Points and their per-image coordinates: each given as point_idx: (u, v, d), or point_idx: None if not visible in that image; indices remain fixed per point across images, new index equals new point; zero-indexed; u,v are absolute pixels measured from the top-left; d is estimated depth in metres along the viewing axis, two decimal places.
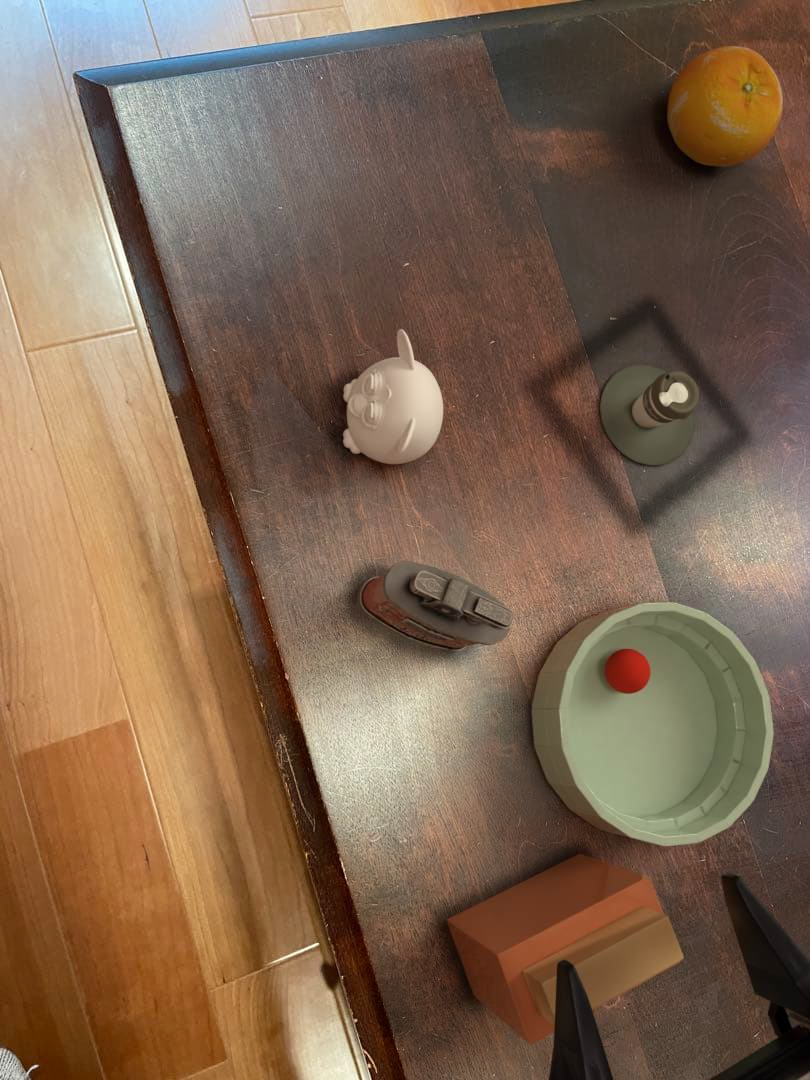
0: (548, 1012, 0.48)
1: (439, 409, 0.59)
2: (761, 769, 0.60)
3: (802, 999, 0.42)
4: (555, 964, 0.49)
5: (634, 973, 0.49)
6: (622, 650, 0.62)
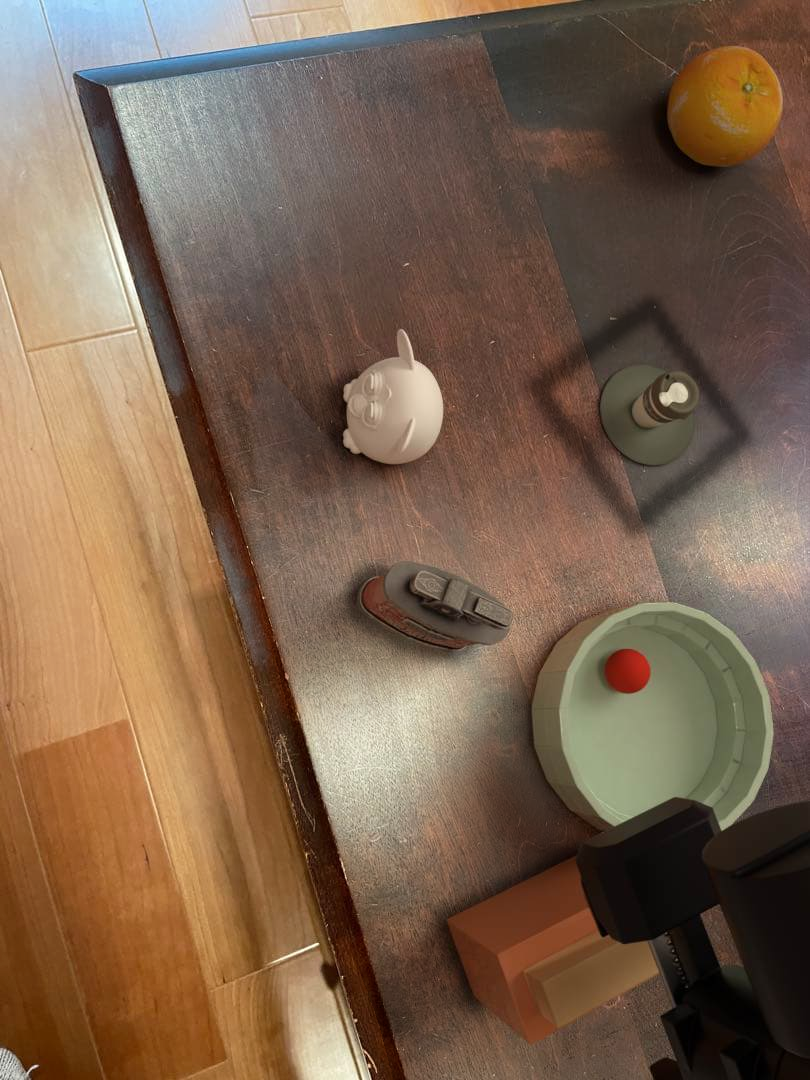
0: (548, 1012, 0.48)
1: (439, 409, 0.59)
2: (761, 769, 0.60)
3: None
4: (555, 964, 0.49)
5: (634, 973, 0.49)
6: (622, 650, 0.62)
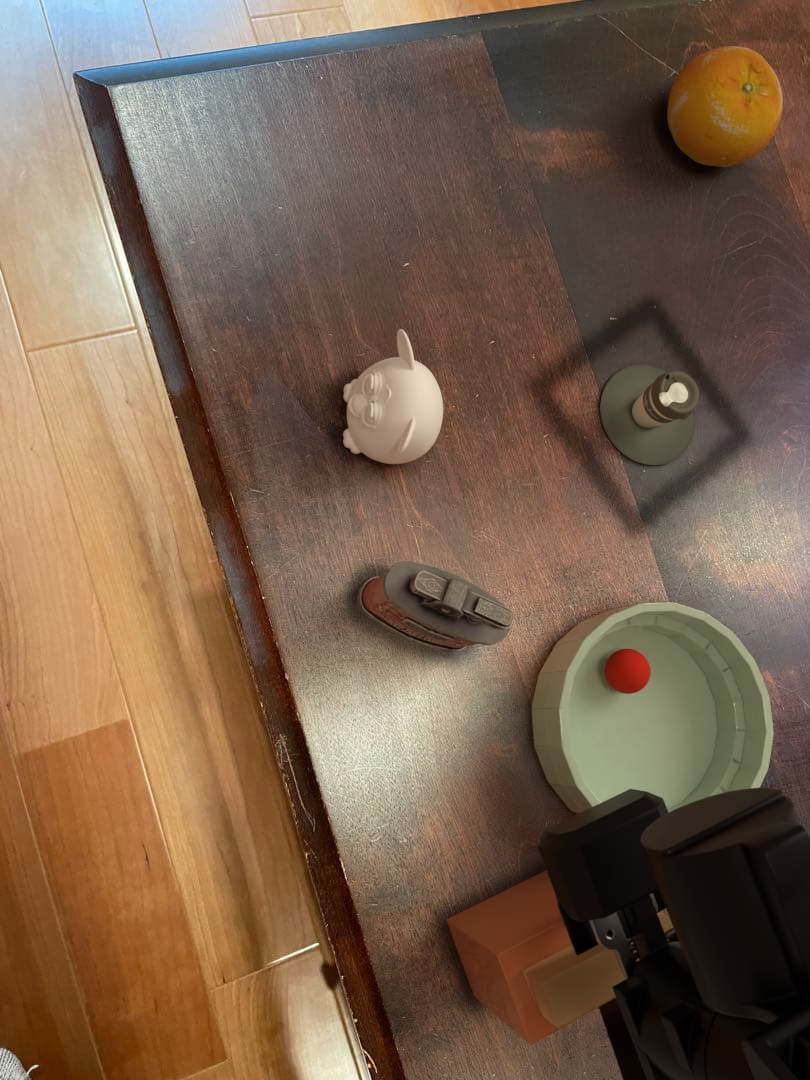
0: (548, 1012, 0.48)
1: (439, 409, 0.59)
2: (761, 769, 0.60)
3: None
4: (555, 964, 0.49)
5: None
6: (622, 650, 0.62)
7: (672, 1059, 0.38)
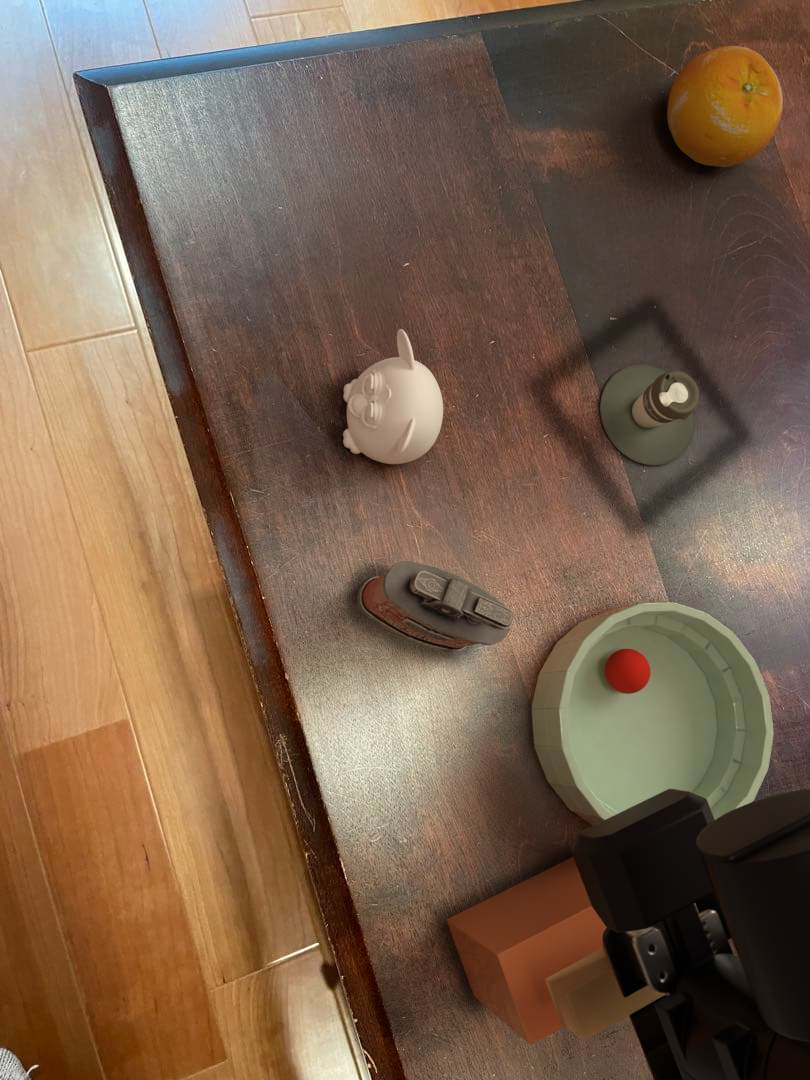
0: (573, 1023, 0.45)
1: (439, 409, 0.59)
2: (761, 769, 0.60)
3: None
4: (580, 972, 0.46)
5: None
6: (622, 650, 0.62)
7: None
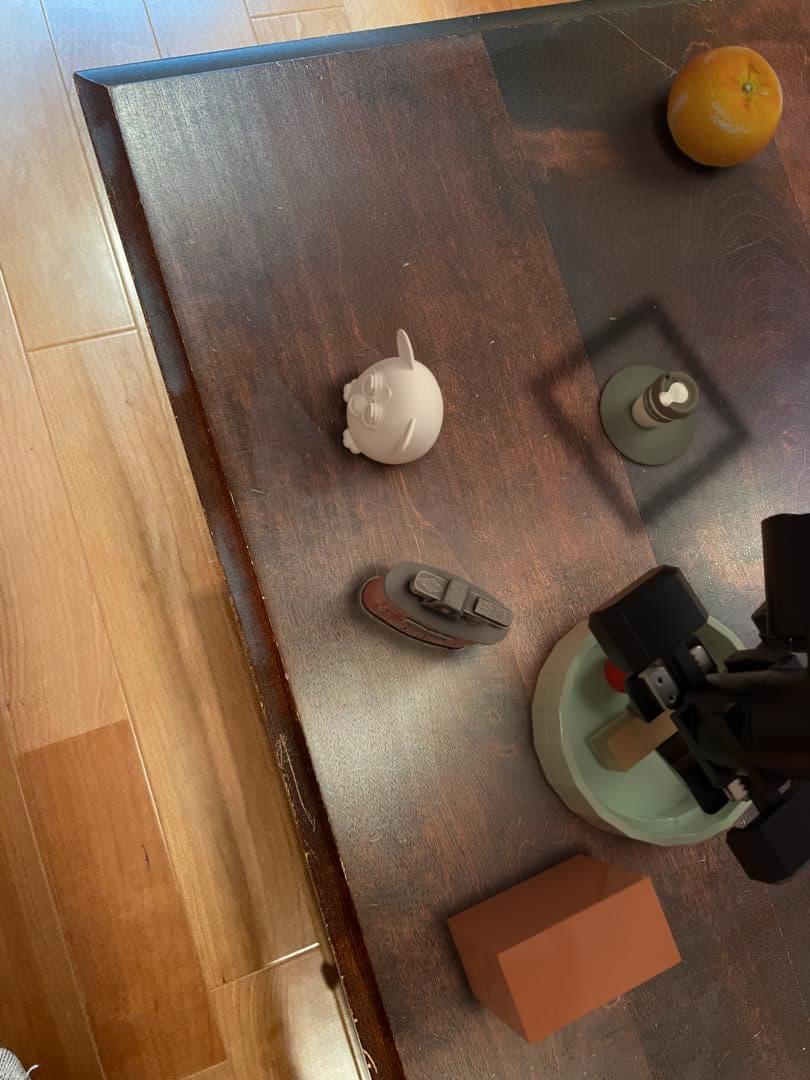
0: (615, 763, 0.60)
1: (439, 409, 0.59)
2: None
3: None
4: (612, 727, 0.61)
5: None
6: None
7: (726, 747, 0.49)
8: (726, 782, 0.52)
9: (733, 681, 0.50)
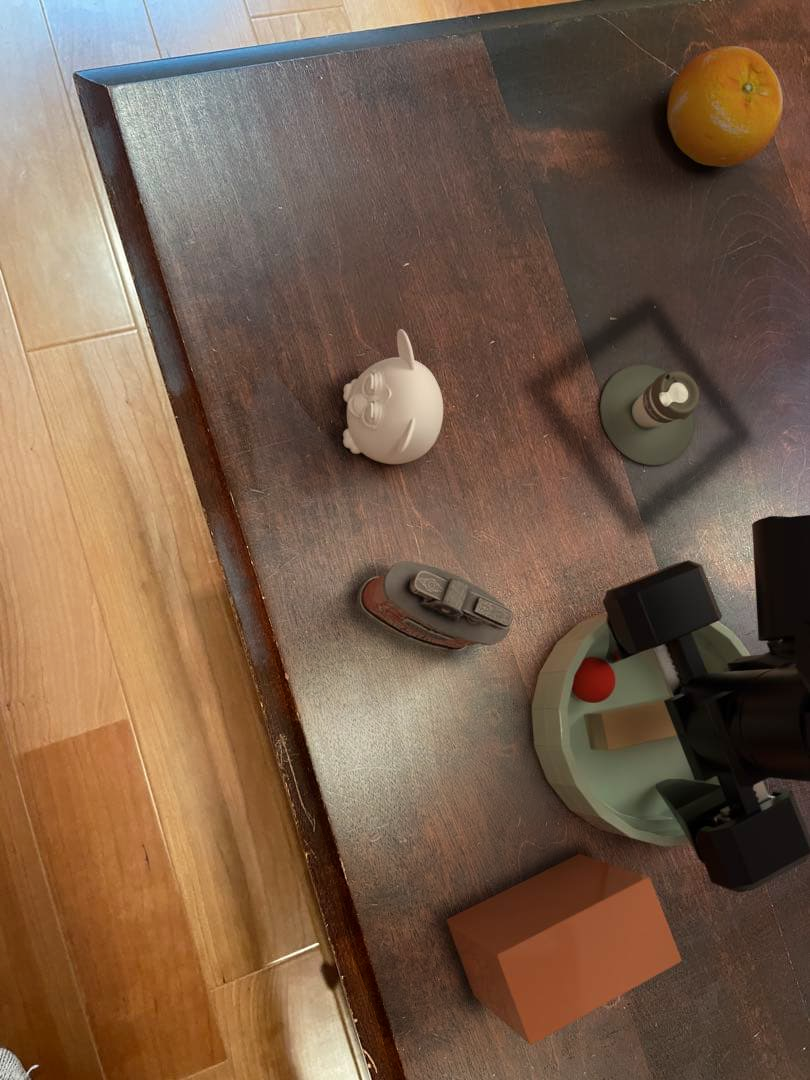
0: (602, 740, 0.60)
1: (439, 409, 0.59)
2: None
3: None
4: (612, 709, 0.62)
5: (673, 727, 0.61)
6: (584, 658, 0.62)
7: (713, 735, 0.50)
8: (707, 776, 0.52)
9: (733, 675, 0.51)
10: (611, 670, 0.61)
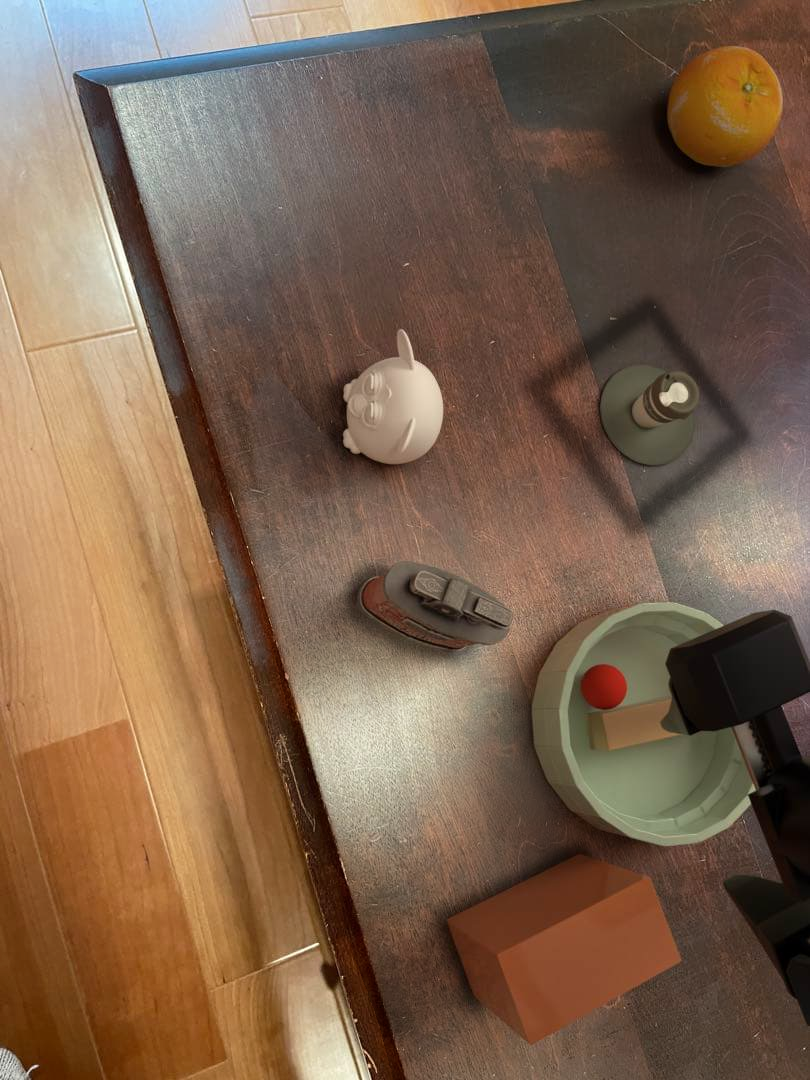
0: (602, 740, 0.60)
1: (439, 409, 0.59)
2: None
3: None
4: (612, 709, 0.62)
5: None
6: (601, 665, 0.61)
7: None
8: (807, 895, 0.40)
9: None
10: (625, 682, 0.61)
